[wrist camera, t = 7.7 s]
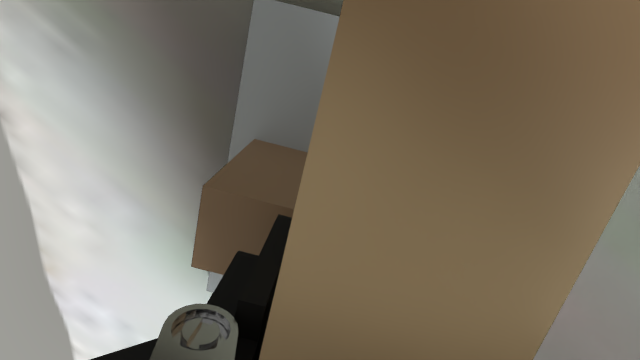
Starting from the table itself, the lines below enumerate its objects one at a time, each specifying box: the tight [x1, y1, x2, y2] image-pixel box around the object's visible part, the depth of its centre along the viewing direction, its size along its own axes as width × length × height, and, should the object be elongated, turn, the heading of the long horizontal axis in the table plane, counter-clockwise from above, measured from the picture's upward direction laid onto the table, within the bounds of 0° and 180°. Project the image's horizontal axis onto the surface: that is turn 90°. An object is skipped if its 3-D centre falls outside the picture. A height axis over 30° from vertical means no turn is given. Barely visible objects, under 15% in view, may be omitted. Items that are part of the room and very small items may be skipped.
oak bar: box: [259, 0, 640, 360], centre depth 9 cm, size 20×4×5 cm, turn 166°
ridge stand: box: [191, 0, 339, 292], centre depth 15 cm, size 12×14×7 cm
